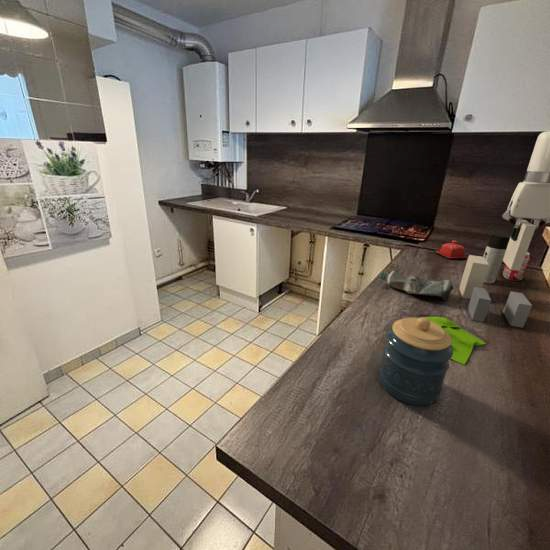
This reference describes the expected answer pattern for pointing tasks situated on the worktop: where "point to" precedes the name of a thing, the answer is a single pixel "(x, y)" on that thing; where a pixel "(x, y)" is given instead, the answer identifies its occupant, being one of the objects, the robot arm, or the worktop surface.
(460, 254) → the butter dish
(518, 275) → the soda can
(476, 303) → the pair of grey pillars
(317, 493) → the worktop surface
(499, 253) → the spray can
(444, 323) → the cloth
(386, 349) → the canister
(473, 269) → the beige rectangular block
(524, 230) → the cream book
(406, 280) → the crushed plastic bottle
